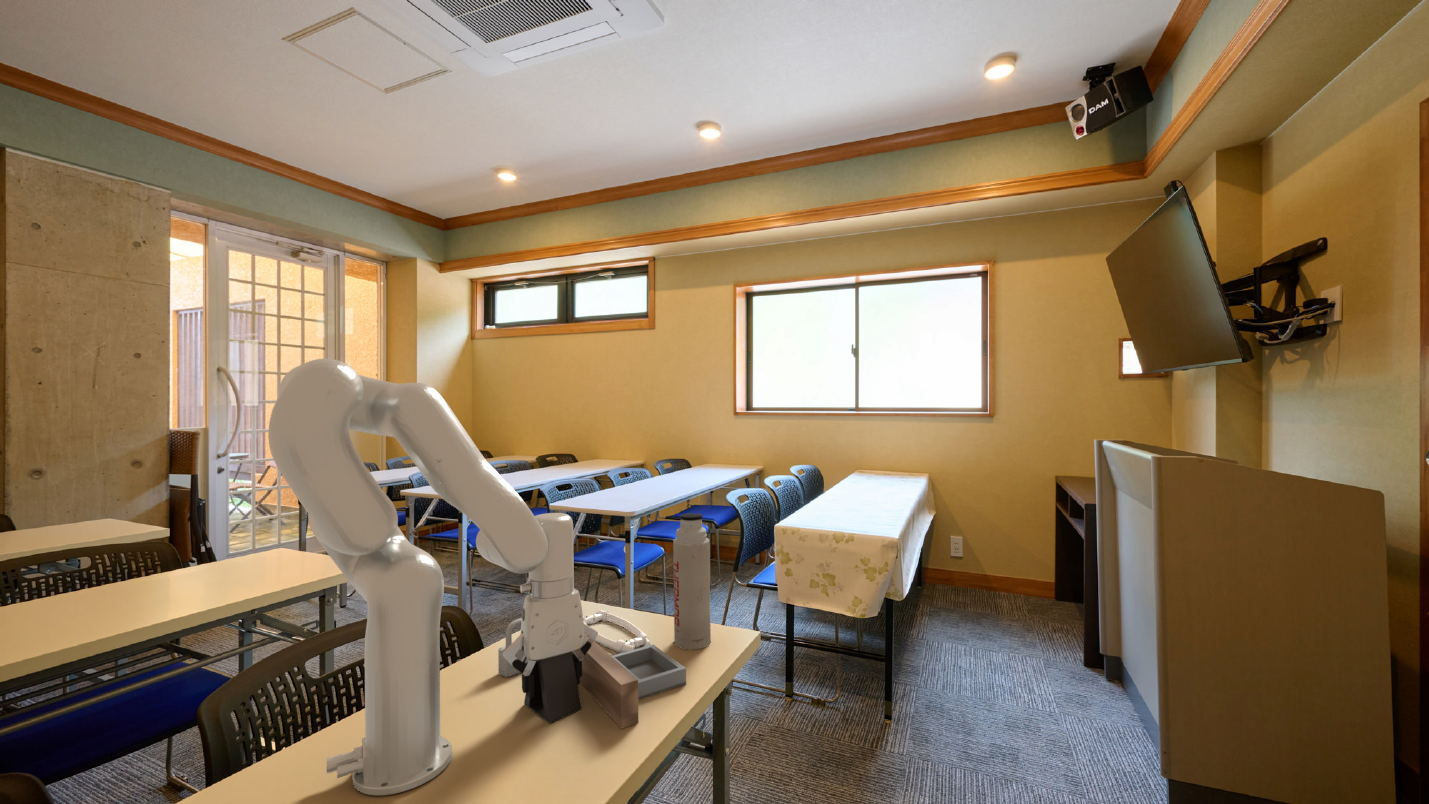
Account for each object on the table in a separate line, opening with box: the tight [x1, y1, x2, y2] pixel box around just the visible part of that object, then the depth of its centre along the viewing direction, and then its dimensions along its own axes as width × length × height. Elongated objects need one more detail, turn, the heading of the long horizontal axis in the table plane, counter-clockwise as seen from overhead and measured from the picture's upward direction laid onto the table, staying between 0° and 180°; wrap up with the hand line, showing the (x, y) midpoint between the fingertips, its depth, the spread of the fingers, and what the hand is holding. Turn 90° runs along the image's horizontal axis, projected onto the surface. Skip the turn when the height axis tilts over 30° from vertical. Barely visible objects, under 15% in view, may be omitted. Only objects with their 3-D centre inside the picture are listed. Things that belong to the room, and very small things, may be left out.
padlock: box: [497, 617, 525, 678], centre depth 112 cm, size 7×4×10 cm, turn 140°
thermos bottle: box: [672, 512, 712, 650], centre depth 125 cm, size 8×8×28 cm
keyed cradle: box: [611, 644, 687, 701], centre depth 108 cm, size 10×13×3 cm
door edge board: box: [580, 633, 639, 729], centre depth 103 cm, size 3×26×7 cm, turn 34°
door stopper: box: [523, 652, 583, 724], centre depth 98 cm, size 9×6×12 cm, turn 45°
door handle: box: [583, 609, 652, 654], centre depth 129 cm, size 3×10×25 cm
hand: (552, 687), depth 98 cm, fingers open, 7 cm apart
